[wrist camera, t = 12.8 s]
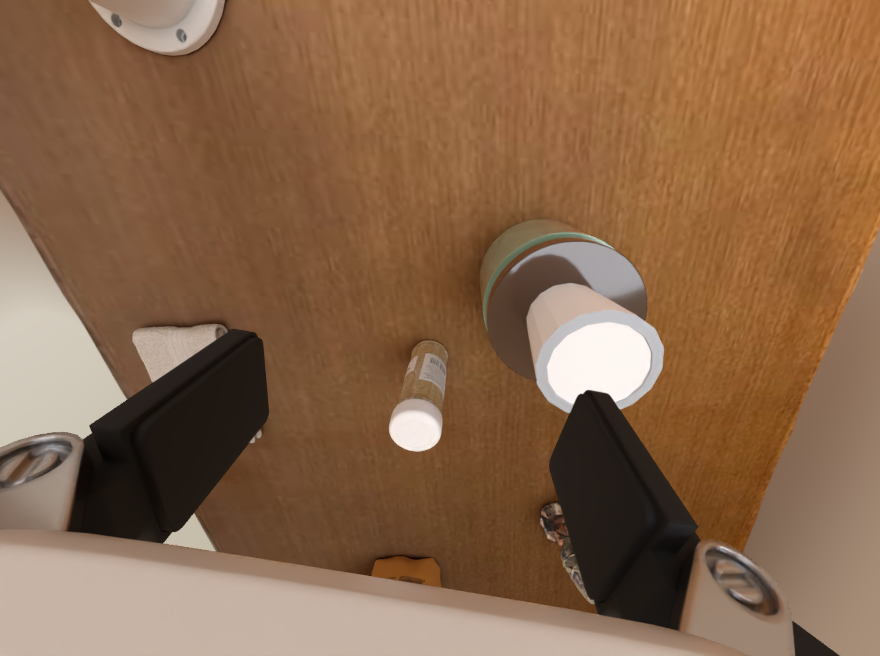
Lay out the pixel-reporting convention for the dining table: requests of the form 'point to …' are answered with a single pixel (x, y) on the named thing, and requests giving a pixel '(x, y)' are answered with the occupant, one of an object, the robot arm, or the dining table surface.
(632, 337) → the white tapered cup
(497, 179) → the dining table surface
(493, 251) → the jar
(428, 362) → the sprinkles bottle
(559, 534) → the plant with pod
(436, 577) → the coffee package
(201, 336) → the washcloth
